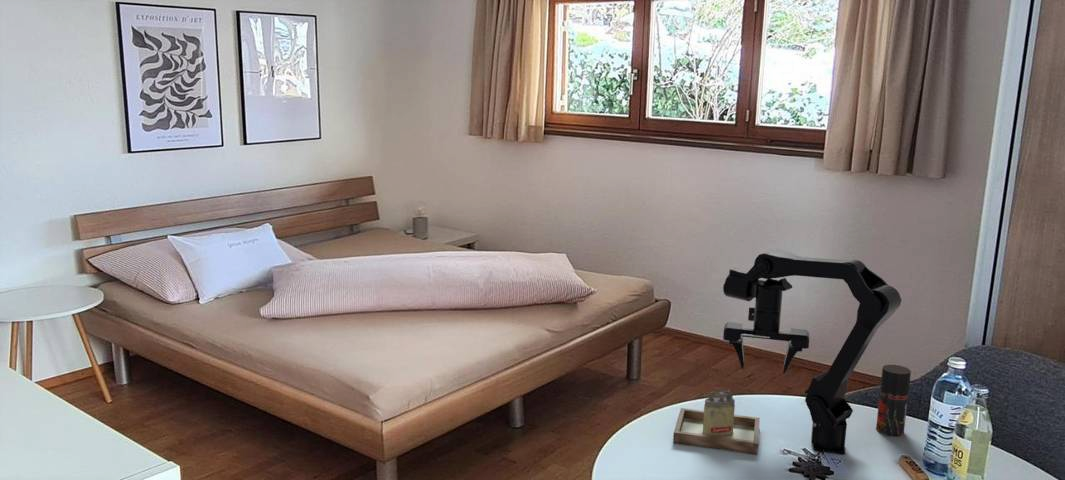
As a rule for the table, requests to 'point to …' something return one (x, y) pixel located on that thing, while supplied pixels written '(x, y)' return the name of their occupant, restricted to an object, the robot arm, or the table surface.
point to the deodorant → (893, 400)
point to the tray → (739, 441)
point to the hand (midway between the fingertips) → (763, 370)
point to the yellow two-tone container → (719, 414)
